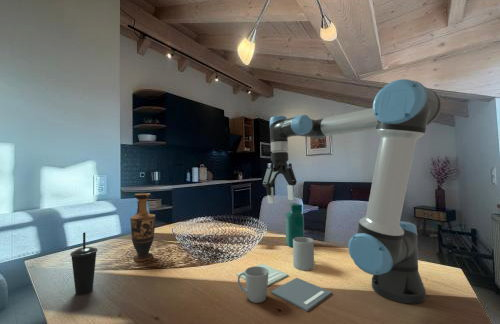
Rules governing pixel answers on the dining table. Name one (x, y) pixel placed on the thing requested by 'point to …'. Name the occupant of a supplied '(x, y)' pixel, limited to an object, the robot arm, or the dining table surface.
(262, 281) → the cup
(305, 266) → the mug
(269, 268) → the pad green
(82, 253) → the drinking cup
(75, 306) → the dining table surface
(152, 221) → the vase
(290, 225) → the green bottle
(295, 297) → the pad slate
